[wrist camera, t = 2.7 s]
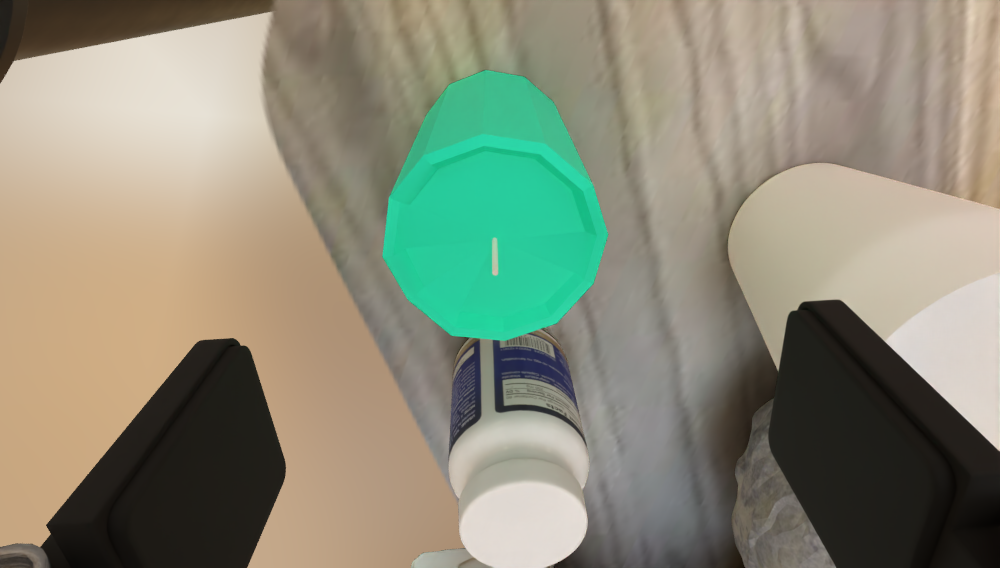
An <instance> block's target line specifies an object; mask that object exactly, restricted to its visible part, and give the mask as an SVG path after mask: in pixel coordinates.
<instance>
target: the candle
mask: <svg viewBox="0 0 1000 568" xmlns="http://www.w3.org/2000/svg"><path fill="white" fill-rule="evenodd" d="M607 237H608V232H607V229H606V226H605V222H604V219H603V216H602V213H601V209H600V206H599V203H598V199H597V196H596V193H595V190H594V186H593V184H592V182H591V179H590V177H589V175H588V173H587V171H586V169H585V167H584V165H583V163H582V161H581V159H580V156H579V154H578V152H577V150H576V148H575V146H574V144H573V142H572V140H571V138H570V136H569V133H568V131H567V129H566V127H565V125H564V123H563V121H562V119H561V117H560V115H559V113H558V110H557V108H556V106H555V104H554V102H553V101H552V100H551V99H549V98H548V97H547V96H546V95H545V94H544V93H543V92H541V91H540V90H539V89H538V88H537V87H536V86H534V85H533V84H532V83H531V82H530V81H529V80H528V79H526V78H525V77H524V76H518V75H512V74H506V73H501V72H495V71H489V70H484V71H482V72H479V73H477V74H474V75H472V76H469V77H467V78H464V79H461V80H459V81H456V82H454V83H451V84H449V85H448V87H447V88H446V89H445V91H444V92H443V93H442V95H441V96H440V97H439V99H438V100H437V101H436V103H435V104H434V105H433V107H432V108H431V109H430V111H429V112H428V113H427V115H426V116H425V119H424V121H423V123H422V125H421V128H420V130H419V132H418V134H417V137H416V139H415V141H414V143H413V145H412V148H411V150H410V152H409V154H408V157H407V159H406V161H405V163H404V166H403V168H402V170H401V172H400V174H399V177H398V179H397V181H396V183H395V186H394V188H393V190H392V192H391V195H390V197H389V203H388V212H387V220H386V229H385V238H384V247H383V256H382V257H383V259H384V261H385V262H386V264H387V266H388V267H389V269H390V271H391V272H392V274H393V276H394V277H395V279H396V281H397V282H398V284H399V286H400V287H401V289H402V291H403V293H404V294H405V296H406V298H407V299H408V300H409V301H410V302H411V303H412V304H413V305H415V306H416V307H417V308H418V309H419V310H421V311H422V312H423V313H424V314H426V315H427V316H428V317H429V318H430V319H432V320H433V321H434V322H435V323H437V324H438V325H439V326H440V327H441V328H443V329H444V330H445V331H446V332H447V333H449V334H450V335H451V336H459V337H470V338H480V339H491V340H501V341H506V340H509V339H512V338H515V337H518V336H521V335H524V334H527V333H530V332H533V331H536V330H539V329H542V328H545V327H548V326H551V325H554V324H557V323H558V321H559V320H560V319H561V318H562V317H563V316H564V315H565V314H566V313H567V312H568V311H569V310H570V309H571V307H572V306H573V305H574V304H575V303H576V302H577V301H578V300H579V299H580V298H581V297H582V296H583V295H584V293H585V292H586V291H587V290H588V289H589V288H590V287H591V286H592V285H593V284H594V280H595V277H596V274H597V270H598V267H599V264H600V261H601V257H602V254H603V251H604V247H605V244H606V241H607Z"/></svg>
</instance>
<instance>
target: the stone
mask: <svg viewBox="0 0 1000 568" xmlns="http://www.w3.org/2000/svg"><path fill="white" fill-rule="evenodd" d="M773 401H774V398H773V399H771V400H770V401H768V402H767V403H766V404H764V405H763V406H761V407H760V408H759V409H758V410H757V411H756V412H755V414H754V416H753V417H752V431H751V435H750V440H749V443H748V446H747V449H746V451H745V452H744V454H743V455H742V456H741V457H740V458H739V459H738V460H737V463H736V467H735V477H736V480H737V483H738V493H737V500H736V504H735V507H734V510H733V512H732V518H731V521H732V529H733V533H734V537H735V544H736V546H737V549H738V551H739V553H740V555H741V557H742V559H743V563H744V566H745V568H836V566H835V565H834V563H833V561H832V559H831V558H830V556H829V554H828V552H827V550H826V549H825V547H824V545H823V543H822V542H821V540H820V538H819V536H818V535H817V533H816V531H815V529H814V527H813V526H812V524H811V522H810V520H809V519H808V517H807V515H806V513H805V512H804V510H803V508H802V506H801V504H800V503H799V501H798V499H797V497H796V496H795V494H794V492H793V490H792V489H791V487H790V485H789V483H788V481H787V480H786V478H785V476H784V474H783V473H782V471H781V469H780V467H779V466H778V464H777V462H776V460H775V458H774V457H773V455H772V453H771V450H770V446H769V441H768V432H769V426H770V419H771V413H772V407H773Z"/></svg>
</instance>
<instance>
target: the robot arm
mask: <svg viewBox="0 0 1000 568" xmlns="http://www.w3.org/2000/svg"><path fill="white" fill-rule="evenodd" d="M768 441H769V446H770V450H771V453H772V455H773V457H774V458H775V460H776V462H777V464H778V466H779V467H780V469H781V471H782V473H783V474H784V476H785V478H786V480H787V481H788V483H789V485H790V487H791V489H792V490H793V492H794V494H795V496H796V497H797V499H798V501H799V503H800V504H801V506H802V508H803V510H804V512H805V513H806V515H807V517H808V519H809V520H810V522H811V524H812V526H813V527H814V529H815V531H816V533H817V535H818V536H819V538H820V540H821V542H822V543H823V545H824V547H825V549H826V550H827V552H828V554H829V556H830V558H831V559H832V561H833V563H834V565H835V566H836V568H1000V451H999V450H998V449H997V448H996V447H995V446H994V445H992V444H991V443H990V442H989V441H988V440H987V439H986V438H985V437H984V436H983V435H982V434H981V433H980V432H979V431H978V430H977V429H976V428H975V427H974V426H973V425H972V424H971V423H969V422H968V421H967V420H966V419H965V418H964V417H963V416H962V415H961V414H960V413H959V412H958V411H957V410H956V409H955V408H954V407H953V406H952V405H951V404H950V403H949V402H948V401H946V400H945V399H944V398H943V397H942V396H941V395H940V394H939V393H938V392H937V391H936V390H935V389H934V388H933V387H932V386H931V385H930V384H929V383H928V382H927V381H926V380H925V379H923V378H922V377H921V376H920V375H919V374H918V373H917V372H916V371H915V370H914V369H913V368H912V367H911V366H910V365H909V364H908V363H907V362H906V361H905V360H904V359H903V358H902V357H900V356H899V355H898V354H897V353H896V352H895V351H894V350H893V349H892V348H891V347H890V346H889V345H888V344H887V343H886V342H885V341H884V340H883V339H882V338H881V337H880V336H879V335H877V334H876V333H875V332H874V331H873V330H872V329H871V328H870V327H869V326H868V325H867V324H866V323H865V322H864V321H863V320H862V319H861V318H860V317H859V316H858V315H857V314H856V313H854V312H853V311H852V310H851V309H850V308H849V307H848V306H847V305H846V304H845V303H844V302H843V301H841V300H836V299H835V300H819V301H804V302H802V303H801V304H800V305H799V307H798V309H797V310H795V311H791V312H790V313H789V315H788V318H787V323H786V329H785V335H784V341H783V347H782V353H781V359H780V365H779V371H778V377H777V383H776V389H775V395H774V401H773V407H772V413H771V419H770V426H769V432H768ZM285 472H286V465H285V459H284V456H283V453H282V450H281V447H280V443H279V440H278V437H277V434H276V431H275V427H274V424H273V421H272V418H271V415H270V412H269V409H268V406H267V402H266V399H265V396H264V393H263V389H262V386H261V383H260V380H259V377H258V374H257V370H256V367H255V364H254V361H253V358H252V355H251V352H250V350H249V349H248V347H246V346H240V343H239V342H238V341H237V340H236V339H234V338H230V339H214V340H202V341H199V342H197V343H196V344H195V345H194V346H193V348H192V349H191V350H190V351H189V353H188V354H187V355H186V356H185V357H184V359H183V360H182V361H181V362H180V363H179V365H178V366H177V367H176V368H175V370H174V371H173V372H172V373H171V374H170V376H169V377H168V378H167V379H166V380H165V382H164V383H163V384H162V385H161V386H160V388H159V389H158V390H157V391H156V393H155V394H154V395H153V396H152V397H151V399H150V400H149V401H148V402H147V404H146V405H145V406H144V407H143V408H142V410H141V411H140V412H139V413H138V414H137V416H136V417H135V418H134V419H133V420H132V422H131V423H130V424H129V426H128V427H127V428H126V429H125V430H124V432H123V433H122V434H121V435H120V437H119V438H118V439H117V440H116V441H115V442H114V444H113V445H112V446H111V447H110V448H109V450H108V451H107V452H106V453H105V455H104V456H103V457H102V458H101V459H100V460H99V462H98V463H97V464H96V465H95V467H94V468H93V469H92V470H91V471H90V473H89V474H88V475H87V476H86V478H85V479H84V480H83V481H82V483H81V484H80V485H79V486H78V487H77V488H76V490H75V491H74V492H73V493H72V494H71V496H70V497H69V499H67V501H66V502H65V503H64V504H63V505H62V507H61V508H60V509H59V510H58V511H57V513H56V514H55V515H54V517H53V518H52V519H51V520H50V521H49V522H48V524H47V525H46V526H47V528H48V529H49V531H50V533H51V535H50V536H49V537H48V538H47V540H46V541H45V542H44V543H43V545H42V546H41V547H38V546H36V545H33V544H12V545H7V546H3V547H0V568H247V567H248V564H249V562H250V559H251V557H252V555H253V553H254V550H255V548H256V546H257V543H258V541H259V539H260V536H261V534H262V531H263V529H264V527H265V524H266V522H267V520H268V517H269V515H270V513H271V510H272V508H273V506H274V503H275V501H276V499H277V496H278V494H279V492H280V489H281V487H282V485H283V482H284V479H285Z"/></svg>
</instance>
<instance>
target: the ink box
mask: <svg viewBox="0 0 1000 568" xmlns="http://www.w3.org/2000/svg"><path fill="white" fill-rule="evenodd" d="M411 568H494V567H491V566H488V565H486V564H484V563H482V562H480V561H478V560H477V559H476V558H474V557H473V556H472V555H471V554H470V553H469V552H468V551H467V550H466V548H462V549H450V550H442V551H438V552H426V553H423V554H421V555H419V557H418V558H416V559H415V560H414V561H413V562H412V566H411ZM544 568H554V566H553V565H550V566H548V567H544Z"/></svg>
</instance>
